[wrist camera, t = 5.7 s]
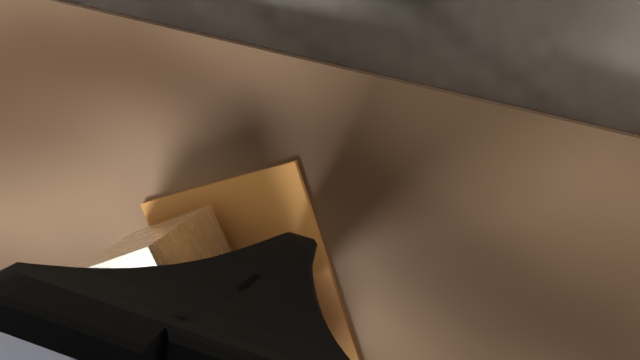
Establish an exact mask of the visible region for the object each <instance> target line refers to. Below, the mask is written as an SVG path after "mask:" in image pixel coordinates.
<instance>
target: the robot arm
mask: <svg viewBox="0 0 640 360" xmlns="http://www.w3.org/2000/svg"><path fill="white" fill-rule="evenodd" d="M316 249H317V243H316V241H315V240H314V239H312V238H309V237H305V236H302V235H298V234H295V233H292V232H287V233H283V234H280V235H278V236H275V237H272V238H270V239H267V240H264V241H261V242H259V243H256V244H253V245H250V246H247V247H245V248H241V249H238V250H235V251H231V252H228V253H224V254H221V255H218V256H214V257H210V258H205V259H201V260H195V261H190V262H184V263H178V264H170V265H159V266H147V267H136V268H82V267H66V266H54V265H42V264H30V263H22V262H16V263H14V264H12V265H10V266H8V267H6V268H4V269H2V270H0V360H350V359H349V357H348V356H347V355H346V354H345V352H344V351H343V350H342V348H341V347H340V346H339V345H338V343H337V342H336V340H335V338H334V336H333V335H332V333H331V331H330V330H329V328H328V326H327V323H326V321H325V319H324V316H323V314H322V311H321V308H320V305H319V302H318V299H317V295H316V290H315V285H314V279H313V267H312V266H313V262H314V257H315V253H316Z"/></svg>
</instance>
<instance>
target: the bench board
mask: <svg viewBox="0 0 640 360" xmlns="http://www.w3.org/2000/svg"><path fill="white" fill-rule="evenodd" d="M207 205H211V207H212V209H213V212H214V214H215V216H216V218H217V220H218V223H219V225H220V227H221V229H222V231H223V234H224V236H225V238H226V240H227V243H228V245H229V247H230V249H231V251H235V250H238V249H241V248H245V247H247V246H250V245H253V244H256V243H259V242H261V241H264V240H267V239H270V238H272V237H275V236H278V235H280V234H283V233H287V232H292V233H295V234H298V235H302V236H305V237H309V238H312V239H314V240H315V241H316V243H317V249H316V253H315V257H314V262H313V266H312V267H313V279H314V285H315V290H316V295H317V299H318V302H319V305H320V308H321V311H322V314H323V316H324V319H325V321H326V323H327V326H328V328H329V330H330V331H331V333H332V335H333V336H334V338H335V340H336V342H337V343H338V345H339V346H340V347H341V348H342V350H343V351H344V352H345V354H346V355H347V356H348V357H349V359H350V360H640V135H637V134H633V133H628V132H624V131H620V130H615V129H611V128H607V127H603V126H598V125H594V124H590V123H585V122H581V121H577V120H573V119H568V118H564V117H560V116H555V115H551V114H547V113H543V112H538V111H534V110H530V109H526V108H521V107H517V106H513V105H508V104H504V103H500V102H496V101H491V100H487V99H483V98H478V97H474V96H470V95H466V94H461V93H457V92H453V91H448V90H444V89H440V88H436V87H431V86H427V85H423V84H419V83H414V82H410V81H406V80H401V79H397V78H393V77H389V76H384V75H380V74H376V73H371V72H367V71H363V70H359V69H354V68H350V67H346V66H341V65H337V64H333V63H329V62H324V61H320V60H316V59H312V58H307V57H303V56H299V55H294V54H290V53H286V52H282V51H277V50H273V49H269V48H264V47H260V46H256V45H252V44H247V43H243V42H239V41H234V40H230V39H226V38H222V37H217V36H213V35H209V34H205V33H200V32H196V31H192V30H187V29H183V28H179V27H175V26H170V25H166V24H162V23H157V22H153V21H149V20H145V19H140V18H136V17H132V16H127V15H123V14H119V13H115V12H110V11H106V10H102V9H97V8H93V7H89V6H85V5H80V4H76V3H72V2H68V1H63V0H0V270H2V269H4V268H6V267H8V266H10V265H12V264H14V263H16V262H22V263H30V264H42V265H54V266H66V267H76V266H77V265H79V264H81V263H82V262H84V261H86V260H88V259H89V258H91V257H93V256H94V255H96V254H98V253H99V252H101V251H103V250H104V249H106V248H108V247H109V246H111V245H113V244H114V243H116V242H118V241H119V240H121V239H123V238H125V237H126V236H128V235H130V234H131V233H133V232H136V231H138V230H141V229H144V228H147V227H149V226H152V225H155V224H158V223H160V222H163V221H166V220H169V219H171V218H174V217H177V216H180V215H182V214H185V213H188V212H191V211H193V210H196V209H199V208H202V207H204V206H207Z"/></svg>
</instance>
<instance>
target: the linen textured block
mask: <svg viewBox="0 0 640 360" xmlns="http://www.w3.org/2000/svg"><path fill="white" fill-rule="evenodd" d="M228 252H231V249H230V247H229V245H228V243H227V240H226V238H225V236H224V234H223V231H222V229H221V227H220V225H219V223H218V220H217V218H216V216H215V214H214V212H213V209H212V207H211V205H207V206H204V207H202V208H199V209H196V210H193V211H191V212H188V213H185V214H182V215H180V216H177V217H174V218H171V219H169V220H166V221H163V222H160V223H158V224H155V225H152V226H149V227H147V228H144V229H141V230H138V231H136V232H133V233H131V234H130V235H128V236H126V237H125V238H123V239H121V240H119V241H118V242H116V243H114V244H113V245H111V246H109V247H108V248H106V249H104V250H103V251H101V252H99V253H98V254H96V255H94V256H93V257H91V258H89V259H88V260H86V261H84V262H82V263H81V264H79V265H77V266H76V267H82V268H136V267H147V266H159V265H170V264H178V263H184V262H190V261H195V260H201V259H205V258H210V257H214V256H218V255H221V254H224V253H228Z"/></svg>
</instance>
